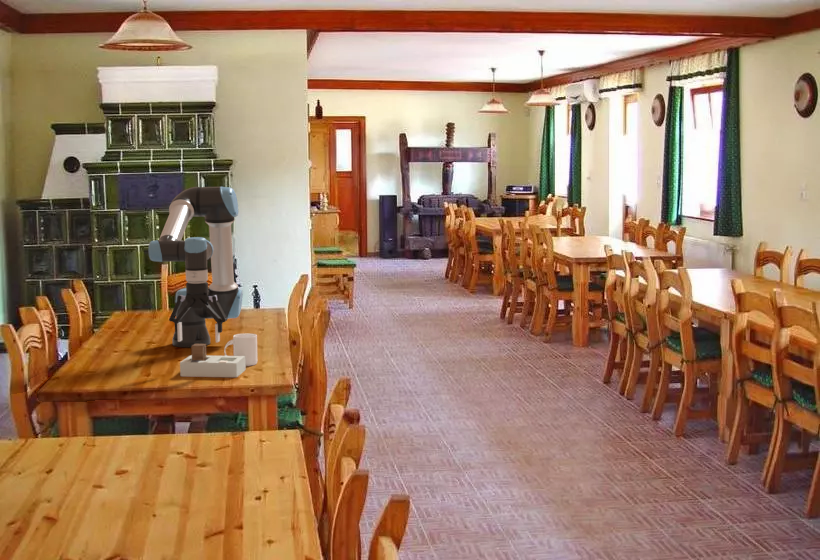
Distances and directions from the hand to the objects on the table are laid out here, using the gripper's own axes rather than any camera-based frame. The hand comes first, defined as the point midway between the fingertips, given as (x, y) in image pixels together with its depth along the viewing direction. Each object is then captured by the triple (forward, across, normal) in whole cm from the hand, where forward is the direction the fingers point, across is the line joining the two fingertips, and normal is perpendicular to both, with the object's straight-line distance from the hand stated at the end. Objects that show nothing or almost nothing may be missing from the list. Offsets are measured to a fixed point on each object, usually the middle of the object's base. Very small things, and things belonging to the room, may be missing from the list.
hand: (198, 341), depth 337 cm
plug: (+10, 0, 0) cm, 10 cm away
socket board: (+11, +5, -1) cm, 12 cm away
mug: (+12, +11, +14) cm, 22 cm away
